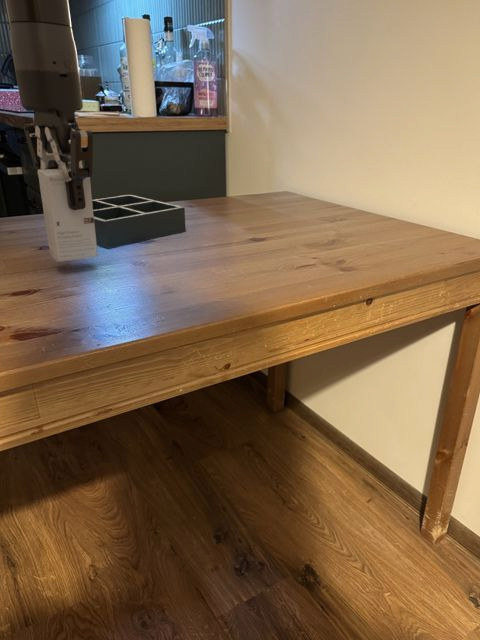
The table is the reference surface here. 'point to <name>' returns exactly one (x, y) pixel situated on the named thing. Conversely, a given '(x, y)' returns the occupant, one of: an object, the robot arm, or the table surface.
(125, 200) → the grid
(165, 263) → the table surface
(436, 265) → the table surface
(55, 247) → the cosmetic box
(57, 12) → the robot arm
